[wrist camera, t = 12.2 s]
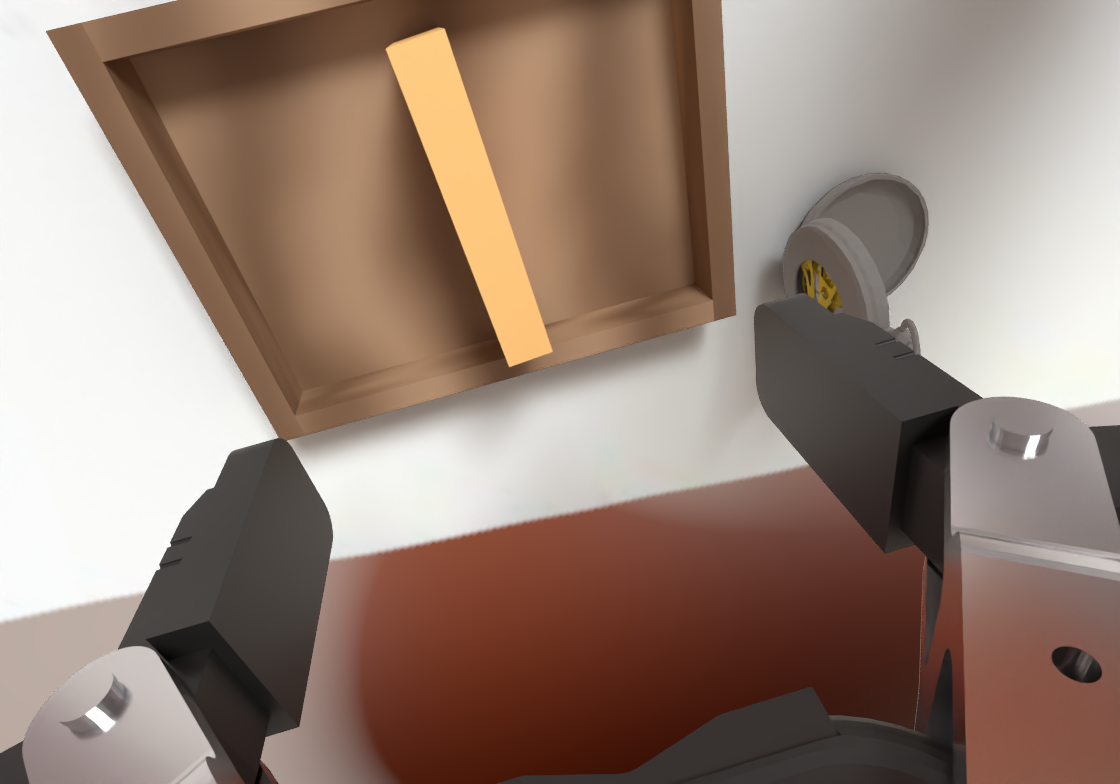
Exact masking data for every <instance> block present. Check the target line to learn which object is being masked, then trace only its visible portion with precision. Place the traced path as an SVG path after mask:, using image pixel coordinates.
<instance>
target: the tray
mask: <svg viewBox="0 0 1120 784" xmlns="http://www.w3.org/2000/svg"><path fill="white" fill-rule="evenodd" d="M438 27H439V28H444V29H445V31H446V34H447V37H448V40H449V43H450V46H451V49H452V52H453V55H454V58H455V61H456V64H457V67H458V70H459V73H460V76H461V79H462V82H463V85H464V88H465V91H466V94H467V97H468V100H469V103H470V106H471V109H472V112H473V115H474V118H475V121H476V124H477V127H478V130H479V133H480V136H481V139H482V142H483V145H484V148H485V151H486V154H487V157H488V160H489V163H490V166H491V169H492V172H493V174H494V177H495V180H496V183H497V186H498V189H499V192H500V195H501V198H502V201H503V204H504V207H505V210H506V213H507V216H508V219H509V222H510V225H511V228H512V231H513V234H514V237H515V240H516V243H517V246H518V249H519V252H520V255H521V258H522V261H523V264H524V267H525V270H526V273H527V276H528V279H529V282H530V285H531V288H532V291H533V294H534V297H535V300H536V303H537V306H538V309H539V312H540V315H541V318H542V321H543V324H544V327H545V330H546V333H547V336H548V339H549V342H550V345H551V348H552V351H553V352H551V353H548V354H545V355H542V356H540V357H537V358H534V359H531V360H528V361H525V362H523V363H520V364H517V365H514V366H511V367H509V365H508V363H507V360H506V358H505V355H504V352H503V350H502V347H501V345H500V342H499V340H498V337H497V334H496V332H495V329H494V327H493V324H492V322H491V319H490V316H489V314H488V311H487V309H486V306H485V303H484V301H483V298H482V296H481V293H480V291H479V288H478V285H477V283H476V280H475V278H474V275H473V273H472V270H471V267H470V265H469V262H468V260H467V257H466V255H465V252H464V249H463V247H462V244H461V242H460V239H459V237H458V234H457V231H456V229H455V226H454V224H453V221H452V219H451V216H450V213H449V211H448V208H447V206H446V203H445V200H444V198H443V195H442V193H441V190H440V188H439V185H438V182H437V180H436V177H435V175H434V172H433V170H432V167H431V164H430V162H429V159H428V157H427V154H426V152H425V149H424V146H423V144H422V141H421V139H420V136H419V134H418V131H417V128H416V126H415V123H414V121H413V118H412V115H411V113H410V110H409V108H408V105H407V103H406V100H405V97H404V95H403V92H402V90H401V87H400V85H399V82H398V79H397V77H396V74H395V72H394V69H393V67H392V64H391V61H390V59H389V56H388V54H387V51H386V48H387V47H389V46H390V45H391V44H392V43H394V42H397V41H400V40H403V39H406V38H408V37H411V36H414V35H417V34H420V33H423V32H426V31H429V30H432V29H435V28H438ZM46 33H47V34H48V36H49V38H50V40H51V41H52V43H53V45H54V47H55V48H56V50H57V52H58V54H59V55H60V57H61V59H62V61H63V62H64V64H65V66H66V68H67V69H68V71H69V73H70V75H71V76H72V78H73V80H74V81H75V83H76V85H77V87H78V88H79V90H80V92H81V94H82V95H83V97H84V99H85V101H86V102H87V104H88V106H89V108H90V109H91V111H92V113H93V115H94V116H95V118H96V120H97V122H98V123H99V125H100V127H101V128H102V130H103V132H104V134H105V135H106V137H107V139H108V141H109V142H110V144H111V146H112V148H113V149H114V151H115V153H116V155H117V156H118V158H119V160H120V162H121V163H122V165H123V167H124V169H125V170H126V172H127V174H128V175H129V177H130V179H131V181H132V182H133V184H134V186H135V188H136V189H137V191H138V193H139V195H140V196H141V198H142V200H143V202H144V203H145V205H146V207H147V209H148V210H149V212H150V214H151V216H152V217H153V219H154V221H155V222H156V224H157V226H158V228H159V229H160V231H161V233H162V235H163V236H164V238H165V240H166V242H167V243H168V245H169V247H170V249H171V250H172V252H173V254H174V256H175V257H176V259H177V261H178V263H179V264H180V266H181V268H182V269H183V271H184V273H185V275H186V276H187V278H188V280H189V282H190V283H191V285H192V287H193V289H194V290H195V292H196V294H197V296H198V297H199V299H200V301H201V303H202V304H203V306H204V308H205V310H206V311H207V313H208V315H209V316H210V318H211V320H212V322H213V323H214V325H215V327H216V329H217V330H218V332H219V334H220V336H221V337H222V339H223V341H224V343H225V344H226V346H227V348H228V350H229V351H230V353H231V355H232V357H233V358H234V360H235V362H236V363H237V365H238V367H239V369H240V370H241V372H242V374H243V376H244V377H245V379H246V381H247V383H248V384H249V386H250V388H251V390H252V391H253V393H254V395H255V397H256V398H257V400H258V402H259V404H260V405H261V407H262V409H263V410H264V412H265V414H266V416H267V417H268V419H269V421H270V423H271V424H272V426H273V428H274V430H275V431H276V433H277V435H278V437H279V438H282V439H284V440H286V441H287V440H291V439H294V438H298V437H301V436H305V435H309V434H312V433H316V432H319V431H323V430H326V429H330V428H334V427H337V426H341V425H344V424H348V423H351V422H355V421H359V420H362V419H366V418H369V417H373V416H376V415H380V414H384V413H387V412H391V411H394V410H398V409H402V408H405V407H409V406H412V405H416V404H419V403H423V402H427V401H430V400H434V399H437V398H441V397H444V396H448V395H452V394H455V393H459V392H462V391H466V390H469V389H473V388H477V387H480V386H484V385H487V384H491V383H494V382H498V381H502V380H505V379H509V378H512V377H516V376H520V375H523V374H527V373H530V372H534V371H537V370H541V369H545V368H548V367H552V366H555V365H559V364H562V363H566V362H570V361H573V360H577V359H580V358H584V357H587V356H591V355H595V354H598V353H602V352H605V351H609V350H612V349H616V348H620V347H623V346H627V345H630V344H634V343H638V342H641V341H645V340H648V339H652V338H655V337H659V336H663V335H666V334H670V333H673V332H677V331H680V330H684V329H688V328H691V327H695V326H698V325H702V324H705V323H709V322H713V321H716V320H720V319H723V318H727V317H731V316H734V315H736V304H735V283H734V262H733V240H732V219H731V198H730V177H729V156H728V134H727V113H726V92H725V71H724V50H723V28H722V7H721V0H177V1H172V2H168V3H164V4H160V5H155V6H151V7H147V8H143V9H138V10H134V11H130V12H125V13H121V14H117V15H113V16H108V17H104V18H100V19H96V20H91V21H87V22H83V23H78V24H74V25H70V26H66V27H61V28H57V29H53V30H48V31H46Z"/></svg>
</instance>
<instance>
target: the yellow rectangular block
mask: <svg viewBox="0 0 1120 784" xmlns="http://www.w3.org/2000/svg"><path fill="white" fill-rule="evenodd" d="M386 51H387V54H388V56H389V59H390V61H391V64H392V67H393V69H394V72H395V74H396V77H397V79H398V82H399V85H400V87H401V90H402V92H403V95H404V97H405V100H406V103H407V105H408V108H409V110H410V113H411V115H412V118H413V121H414V123H415V126H416V128H417V131H418V134H419V136H420V139H421V141H422V144H423V146H424V149H425V152H426V154H427V157H428V159H429V162H430V164H431V167H432V170H433V172H434V175H435V177H436V180H437V182H438V185H439V188H440V190H441V193H442V195H443V198H444V200H445V203H446V206H447V208H448V211H449V213H450V216H451V219H452V221H453V224H454V226H455V229H456V231H457V234H458V237H459V239H460V242H461V244H462V247H463V249H464V252H465V255H466V257H467V260H468V262H469V265H470V267H471V270H472V273H473V275H474V278H475V280H476V283H477V285H478V288H479V291H480V293H481V296H482V298H483V301H484V303H485V306H486V309H487V311H488V314H489V316H490V319H491V322H492V324H493V327H494V329H495V332H496V334H497V337H498V340H499V342H500V345H501V347H502V350H503V352H504V355H505V358H506V360H507V363H508V365H509V367H511V366H514V365H517V364H520V363H523V362H525V361H528V360H531V359H534V358H537V357H540V356H542V355H545V354H548V353H551V352H553V351H552V348H551V345H550V342H549V339H548V336H547V333H546V330H545V327H544V324H543V321H542V318H541V315H540V312H539V309H538V306H537V303H536V300H535V297H534V294H533V291H532V288H531V285H530V282H529V279H528V276H527V273H526V270H525V267H524V264H523V261H522V258H521V255H520V252H519V249H518V246H517V243H516V240H515V237H514V234H513V231H512V228H511V225H510V222H509V219H508V216H507V213H506V210H505V207H504V204H503V201H502V198H501V195H500V192H499V189H498V186H497V183H496V180H495V177H494V174H493V172H492V169H491V166H490V163H489V160H488V157H487V154H486V151H485V148H484V145H483V142H482V139H481V136H480V133H479V130H478V127H477V124H476V121H475V118H474V115H473V112H472V109H471V106H470V103H469V100H468V97H467V94H466V91H465V88H464V85H463V82H462V79H461V76H460V73H459V70H458V67H457V64H456V61H455V58H454V55H453V52H452V49H451V46H450V43H449V40H448V37H447V34H446V31H445V29H444V28H439V27H438V28H435V29H432V30H429V31H426V32H423V33H420V34H417V35H414V36H411V37H408V38H406V39H403V40H400V41H397V42H394V43H392V44H391V45H390V46H389V47H387V48H386Z"/></svg>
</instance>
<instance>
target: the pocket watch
mask: <svg viewBox="0 0 1120 784" xmlns="http://www.w3.org/2000/svg"><path fill="white" fill-rule="evenodd" d="M928 225H929V223H928V210H927V207H926V203H925V200H924V198H923V197H922V195H921V193H920V192H919V190H918V189H917V188H916V187H915V186H914V185H912V184H911V183H910V182H909V181H907V180H905V179H903V178H901V177H899V176H895V175H891V174H887V173H874V174H865V175H861V176H858V177H854V178H852V179H850V180H848V181H846V182H843V183H841V184H839V185H838V186H836V187H835V188H833V189H832V190H831V191H829V192H828V193H827V194H826V195H825V196H824V197H823V198H822V199H821V200H820V201H819V202H818V203H817V204H816V205H815V206H814V207H813V208H812V209H811V210H810V211H809V213H808V215H807V216H806V218H805V219H804V221H803V223H802V225H801V226H800V228H798V229H797V230H796V231H794V232H793V233H792V235H791V236H790V237H789V239H788V242H787V245H786V248H785V251H784V255H783V283H784V291H785V296H786V298H787V297H790V296H794V295H797V294H801V293H804V294H807V295H808V296H810V297H811V298H813V299H814V300H815V301H817V302H818V303H820V304H821V305H822V306H824V307H825V308H826V309H828V310H829V311H830V312H832V313H833V314H838V313H845V314H848V315H851V316H854V317H857V318H860V319H863V320H867V321H870V322H873V323H874V324H876V325H877V326H879V327H880V328H882V329H883V330H884V331H886V332H887V333H889V334H890V335H892V336H893V337H895V340H896V342H898V341H900V342H902V343H903V344H905V345H906V346H908V347H909V348H911V349H912V350H914V353H915V355H918V354H919V355H920V344H919V337H918V332H917V329H916V326H915V324H914V323H913V321H911V320H910V319H905V320H904V321H903V322H902V324H901V327H898V328H896V329H893V328H891V327H889V306H888V301H887V296H888V295H890V294H891V293H892V292H893V291H894V290H896V289H897V288H898V287H899V286H900V285H901V284H902V283H903V281H904V280H905V279H906V278H907V276H908V275H909V274H910V272H911V271H912V270H913V268H914V266H915V264H916V262H917V260H918V258H919V256H920V254H921V252H922V250H923V248H924V246H925V242H926V238H927V233H928ZM907 327H908V329H909V331H910V332H909V331H908V329H907ZM910 333H911V334H910Z"/></svg>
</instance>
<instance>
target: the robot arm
mask: <svg viewBox="0 0 1120 784" xmlns="http://www.w3.org/2000/svg"><path fill="white" fill-rule="evenodd" d="M754 329H755V358H756V383H757V390H758V395H759V398H760V401H761V404H762V406H763V408H764V410H765V412H766V414H767V416H768V417H769V418H770V419H771V421H772V422H773V423H774V424H775V425H776V427H777V428H778V429H779V430H780V431H781V432H782V434H783V435H784V436H785V437H786V438H787V439H788V441H789V442H790V443H791V444H792V445H793V446H794V448H795V449H796V450H797V451H798V452H799V453H800V455H801V456H802V457H803V458H804V459H805V461H806V462H807V463H808V464H809V465H810V466H811V468H812V469H813V470H814V471H815V472H816V473H817V475H818V476H819V477H820V478H821V479H822V480H823V482H824V483H825V484H826V485H827V486H828V488H830V490H831V491H832V492H833V493H834V495H835V496H836V497H837V498H838V499H839V500H840V502H841V503H842V504H843V505H844V506H845V507H846V509H847V510H848V511H849V512H850V513H851V514H852V516H853V517H854V518H855V519H856V520H857V522H858V523H859V524H860V525H861V526H862V527H863V528H864V530H865V531H866V532H867V533H868V534H869V536H870V537H871V538H872V539H873V540H874V542H875V543H876V544H877V545H878V546H879V547H880V548H881V550H882V551H883V552H884V553H888V552H892V551H895V550H898V549H902V548H905V547H909V546H912V545H916V546H917V547H918V548H919V549H920V550H921V551H922V552H923V553H924V554H925V556H926V557H925V563H924V568H923V586H922V617H921V649H920V679H919V694H918V704H917V712H916V720H915V730H914V731H913V730H910V729H907V728H904V727H901V726H898V725H895V724H891V723H886V722H882V721H877V720H872V719H868V718H858V717H848V716H828V714H827V712H826V710H825V709H824V707H823V705H822V703H821V702H820V700H819V698H818V696H817V695H816V693H815V691H814V689H813V688H812V687H809V688H806V689H802V690H799V691H796V692H793V693H790V694H786V695H783V696H780V697H776V698H773V699H770V700H767V701H763V702H760V703H757V704H754V705H750V706H747V707H744V708H741V709H738V710H734V711H731V712H728V713H724V714H721V715H719V716H717V717H715V718H714V719H712V720H711V721H709V722H708V723H706V724H705V725H703V726H702V727H700V728H699V729H697V730H696V731H694V732H692V733H691V734H689V735H688V736H687V737H685V738H683V739H682V740H681V741H679V742H677V743H676V744H674V745H673V746H671V747H670V748H668V749H667V750H665V751H663V752H662V753H660V754H659V755H657V756H656V757H654V758H653V759H651V760H650V761H648V762H646V763H645V764H643V765H642V766H640V767H639V768H637V769H635V770H634V771H631V772H627V773H623V774H598V775H596V774H595V775H542V776H540V775H539V776H520V777H517V778H514V779H511V780H507V781H504V782H501V783H498V784H1120V425H1118V426H1098V427H1088V426H1087V425H1086V424H1085V423H1084V422H1083V421H1081V420H1080V419H1079V418H1077V417H1076V416H1074V415H1072V414H1071V413H1069V412H1067V411H1065V410H1063V409H1061V408H1058V407H1056V406H1053V405H1050V404H1047V403H1044V402H1040V401H1036V400H1031V399H1025V398H1017V397H991V398H984V399H983V398H982V397H981V396H979V395H978V394H976V393H975V392H973V391H972V390H970V389H969V388H967V387H966V386H965V385H963V384H962V383H960V382H959V381H957V380H956V379H954V378H953V377H951V376H950V375H949V374H947V373H946V372H944V371H943V370H941V369H940V368H938V367H937V366H935V365H934V364H933V363H931V362H930V361H928V360H927V359H925V358H924V357H922V356H921V355H919V354H918V355H915V353H914V350H912V349H911V348H909V347H908V346H906V345H905V344H903V343H902V342H900V341H898V342H896V340H895V337H893V336H892V335H890V334H889V333H887V332H886V331H884V330H883V329H882V328H880V327H879V326H877V325H876V324H874V323H873V322H870V321H867V320H863V319H860V318H857V317H854V316H851V315H848V314H845V313H838V314H833V313H832V312H830V311H829V310H828V309H826V308H825V307H824V306H822V305H821V304H820V303H818V302H817V301H815V300H814V299H813V298H811V297H810V296H808V295H807V294H804V293H801V294H797V295H794V296H790V297H787V298H783V299H779V300H776V301H772V302H769V303H765V304H762V305H759V306H758V307H757V308H756V311H755V316H754ZM332 541H333V530H332V523H331V519H330V515H329V512H328V510H327V507H326V505H325V503H324V502H323V500H322V498H321V496H320V495H319V493H318V491H317V490H316V488H315V486H314V484H313V483H312V481H311V479H310V478H309V476H308V474H307V472H306V471H305V469H304V467H303V466H302V464H301V462H300V460H299V459H298V457H297V455H296V453H295V452H294V450H293V448H292V447H291V446H290V444H289V443H288V442H287V441H286V440H284V439H282V438H277V439H273V440H270V441H266V442H263V443H259V444H256V445H252V446H248V447H245V448H241V449H238V450H234V451H232V452H231V453H230V454H229V456H228V458H227V460H226V463H225V465H224V467H223V469H222V471H221V474H220V476H219V478H218V480H217V482H216V485H215V487H214V488H212V489H208V490H206V491H205V493H204V494H203V495H202V496H201V497H200V498H199V499H198V500H197V501H196V502H195V503H194V505H193V506H192V507H191V508H190V509H189V510H188V511H187V512H186V513H185V514H184V515H183V517H182V519H181V521H180V523H179V525H178V527H177V529H176V531H175V533H174V535H173V538H172V540H171V542H170V543H171V547H169V548H167V550H166V552H165V554H164V556H163V558H162V560H161V562H160V564H159V565H160V570H157V571H156V572H155V574H154V576H153V578H152V580H151V583H150V585H149V587H148V589H147V591H146V593H145V595H144V597H143V599H142V601H141V603H140V605H139V607H138V609H137V611H136V613H135V615H134V618H133V620H132V622H131V624H130V626H129V628H128V630H127V632H126V634H125V636H124V638H123V640H122V642H121V644H120V646H119V648H118V650H116V651H113V652H111V653H109V654H106V655H104V656H102V657H100V658H98V659H97V660H95V661H93V662H91V663H90V664H88V665H86V666H85V667H83V668H82V669H80V670H79V671H78V672H77V673H75V674H74V675H73V676H71V677H70V678H69V679H68V680H67V681H65V682H64V683H63V684H62V685H61V686H60V687H59V688H58V689H57V690H56V691H55V692H54V693H53V694H52V695H51V696H50V697H49V698H48V699H47V701H46V702H45V703H44V704H43V706H42V707H41V708H40V710H39V711H38V712H37V714H36V715H35V717H34V718H33V720H32V722H31V724H30V726H29V727H28V730H27V732H26V735H25V737H24V740H23V741H22V742H20V743H18V744H17V745H15V746H13V747H11V748H9V749H7V750H6V751H4V752H2V753H0V784H278V782H277V781H276V779H275V778H274V776H273V774H272V773H271V771H270V770H269V769H268V767H267V766H266V765H265V764H264V763H263V762H262V761H261V760H260V759H261V754H262V750H263V746H264V741H265V737H267V736H270V735H273V734H277V733H280V732H284V731H287V730H290V729H294V728H297V727H299V725H300V720H301V714H302V708H303V703H304V698H305V691H306V686H307V681H308V675H309V670H310V664H311V658H312V653H313V647H314V642H315V636H316V631H317V625H318V620H319V614H320V609H321V603H322V597H323V592H324V586H325V581H326V575H327V570H328V564H329V559H330V553H331V548H332Z"/></svg>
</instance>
